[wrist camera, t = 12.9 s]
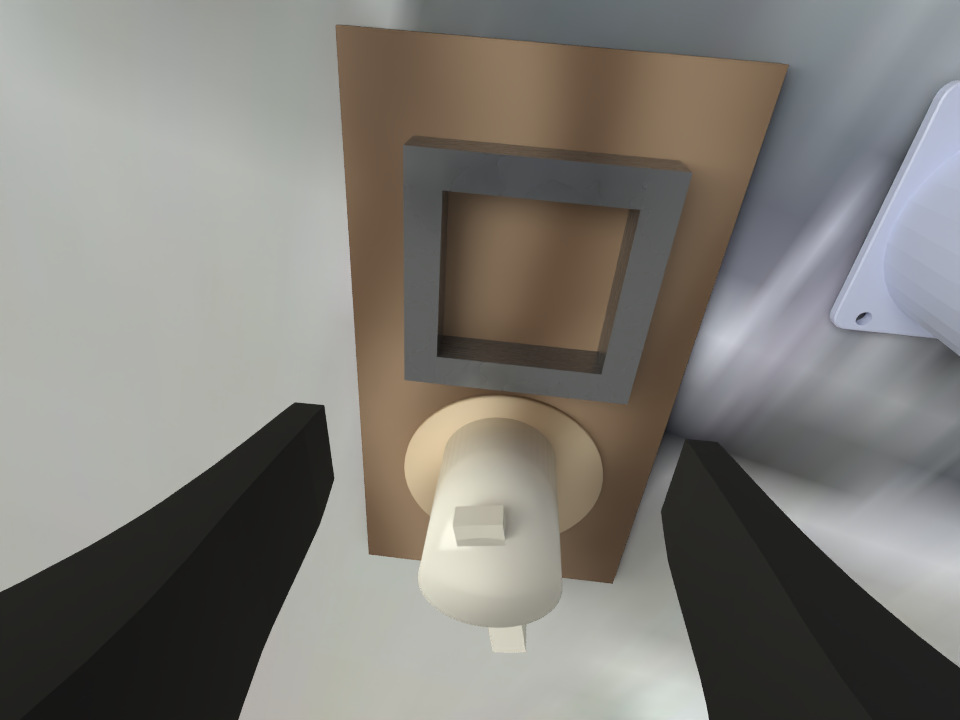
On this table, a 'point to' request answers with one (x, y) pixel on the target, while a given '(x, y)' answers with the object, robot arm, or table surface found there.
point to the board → (535, 239)
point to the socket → (550, 177)
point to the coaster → (564, 433)
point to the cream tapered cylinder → (495, 531)
